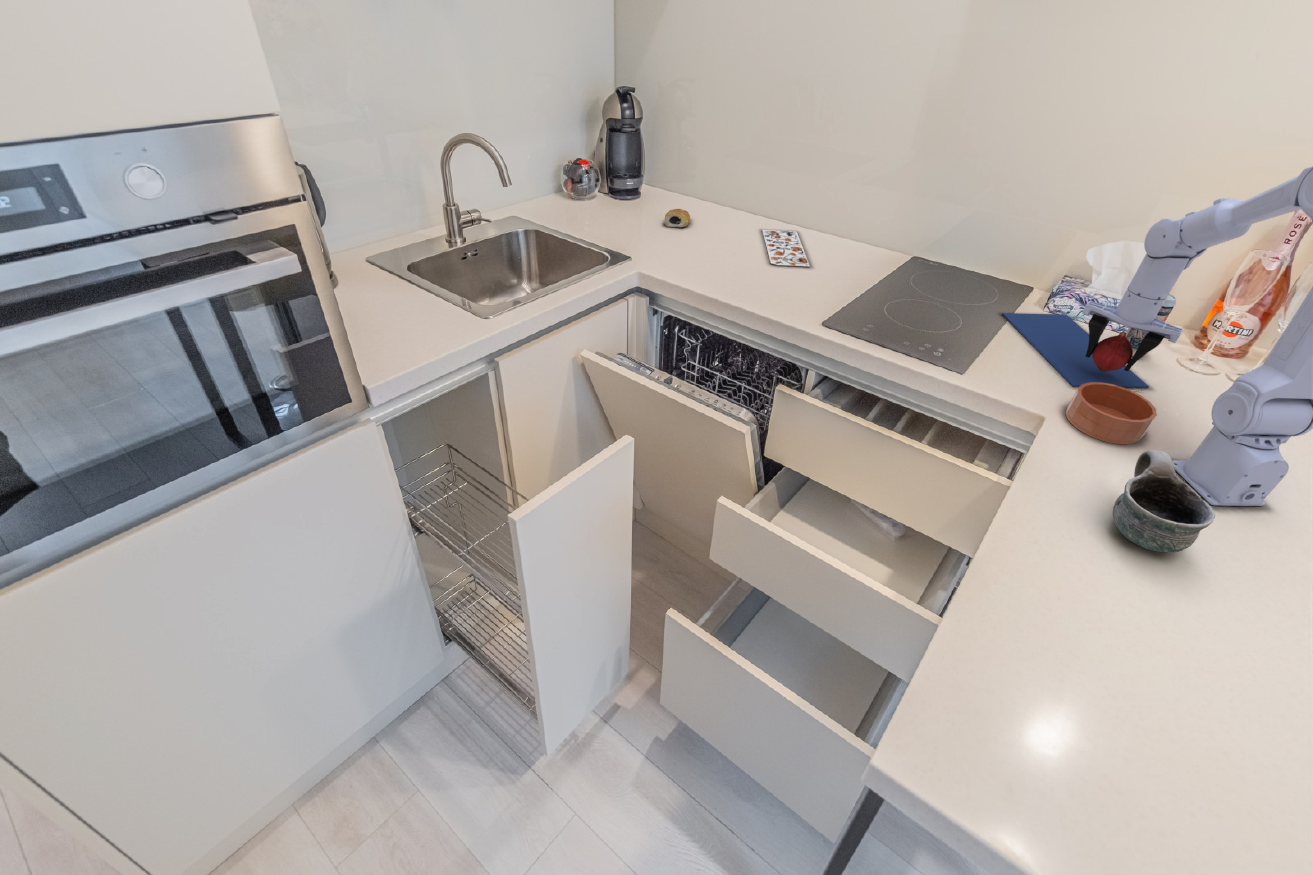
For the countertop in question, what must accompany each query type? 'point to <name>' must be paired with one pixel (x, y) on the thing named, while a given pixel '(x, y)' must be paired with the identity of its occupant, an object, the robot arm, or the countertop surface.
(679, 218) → the pastry
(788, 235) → the paper towel
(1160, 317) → the beer can
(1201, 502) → the mug
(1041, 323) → the cloth
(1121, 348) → the onion
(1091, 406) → the bowl
